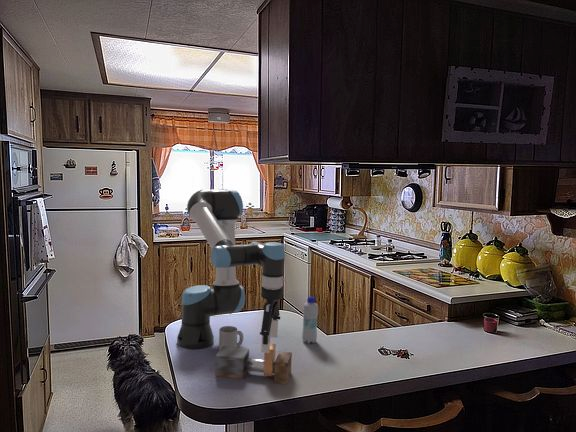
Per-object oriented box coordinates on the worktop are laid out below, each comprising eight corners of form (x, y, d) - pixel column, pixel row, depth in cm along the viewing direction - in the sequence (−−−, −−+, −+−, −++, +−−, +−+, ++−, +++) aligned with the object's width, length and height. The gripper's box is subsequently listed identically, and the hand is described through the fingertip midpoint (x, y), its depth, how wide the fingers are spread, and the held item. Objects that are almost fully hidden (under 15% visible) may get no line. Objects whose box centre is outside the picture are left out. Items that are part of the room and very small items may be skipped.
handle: (235, 371, 154) (235, 345, 153) (238, 366, 159) (239, 340, 158) (284, 377, 152) (285, 350, 150) (286, 371, 156) (287, 345, 155)
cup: (217, 347, 178) (217, 327, 177) (241, 345, 181) (241, 324, 180) (220, 355, 171) (221, 333, 170) (245, 352, 174) (246, 330, 173)
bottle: (317, 339, 191) (319, 295, 189) (316, 345, 184) (318, 299, 182) (302, 338, 191) (303, 294, 189) (301, 344, 185) (302, 298, 183)
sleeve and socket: (215, 375, 154) (215, 355, 153) (223, 364, 163) (223, 345, 162) (286, 384, 149) (287, 363, 149) (291, 372, 158) (291, 352, 157)
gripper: (275, 298, 139) (272, 361, 141) (288, 278, 163) (286, 332, 166) (253, 296, 140) (250, 358, 143) (269, 276, 164) (267, 329, 167)
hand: (269, 344), depth 154 cm, fingers open, 13 cm apart
